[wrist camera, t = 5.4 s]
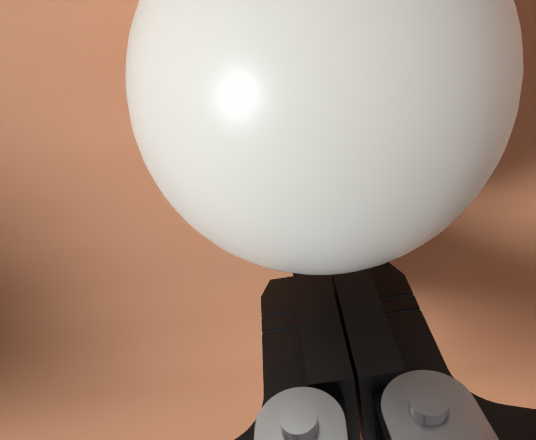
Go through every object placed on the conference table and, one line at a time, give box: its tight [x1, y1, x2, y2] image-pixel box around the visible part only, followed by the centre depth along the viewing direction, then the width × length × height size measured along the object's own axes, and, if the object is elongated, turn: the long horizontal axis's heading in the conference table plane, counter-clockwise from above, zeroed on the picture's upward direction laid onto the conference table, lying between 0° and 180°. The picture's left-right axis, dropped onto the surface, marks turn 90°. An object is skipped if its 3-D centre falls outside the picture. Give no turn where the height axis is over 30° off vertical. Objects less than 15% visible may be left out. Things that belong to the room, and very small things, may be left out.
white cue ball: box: [126, 0, 524, 275], centre depth 7 cm, size 6×6×6 cm
